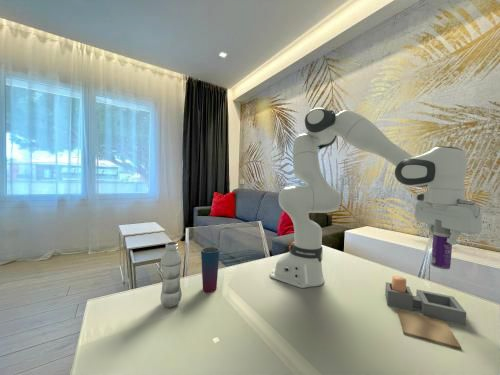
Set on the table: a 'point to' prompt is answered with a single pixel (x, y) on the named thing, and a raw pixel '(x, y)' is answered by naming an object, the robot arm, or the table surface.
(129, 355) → the table surface
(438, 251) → the container
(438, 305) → the housing
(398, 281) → the peach cylinder
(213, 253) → the cup
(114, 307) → the table surface
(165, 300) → the plastic bottle
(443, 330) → the pad
